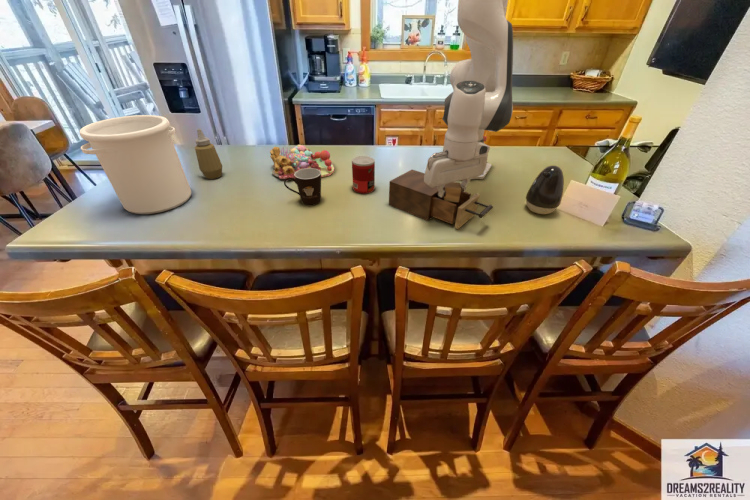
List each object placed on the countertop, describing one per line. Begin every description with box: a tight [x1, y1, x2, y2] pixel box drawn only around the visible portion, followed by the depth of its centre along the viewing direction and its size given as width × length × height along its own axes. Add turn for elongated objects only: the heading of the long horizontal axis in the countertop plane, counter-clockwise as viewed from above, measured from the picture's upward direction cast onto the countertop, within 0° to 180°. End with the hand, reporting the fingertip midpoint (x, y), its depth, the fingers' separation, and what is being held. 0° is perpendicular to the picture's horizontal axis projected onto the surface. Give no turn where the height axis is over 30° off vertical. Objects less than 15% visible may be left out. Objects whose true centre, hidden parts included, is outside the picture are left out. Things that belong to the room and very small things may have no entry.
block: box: [444, 181, 462, 202], centre depth 96 cm, size 4×4×4 cm
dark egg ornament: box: [525, 165, 565, 215], centre depth 100 cm, size 10×10×15 cm
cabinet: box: [388, 169, 445, 221], centre depth 104 cm, size 16×13×9 cm
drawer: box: [430, 189, 494, 230], centre depth 97 cm, size 20×11×7 cm, turn 50°
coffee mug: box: [283, 168, 322, 207], centre depth 106 cm, size 12×9×10 cm
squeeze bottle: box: [194, 128, 223, 180], centre depth 119 cm, size 8×8×18 cm
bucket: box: [79, 114, 192, 215], centre depth 101 cm, size 26×22×25 cm
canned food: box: [351, 155, 376, 195], centre depth 113 cm, size 8×8×11 cm
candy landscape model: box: [269, 144, 335, 182], centre depth 128 cm, size 25×24×9 cm
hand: (451, 193), depth 96 cm, fingers closed on block, 6 cm apart
